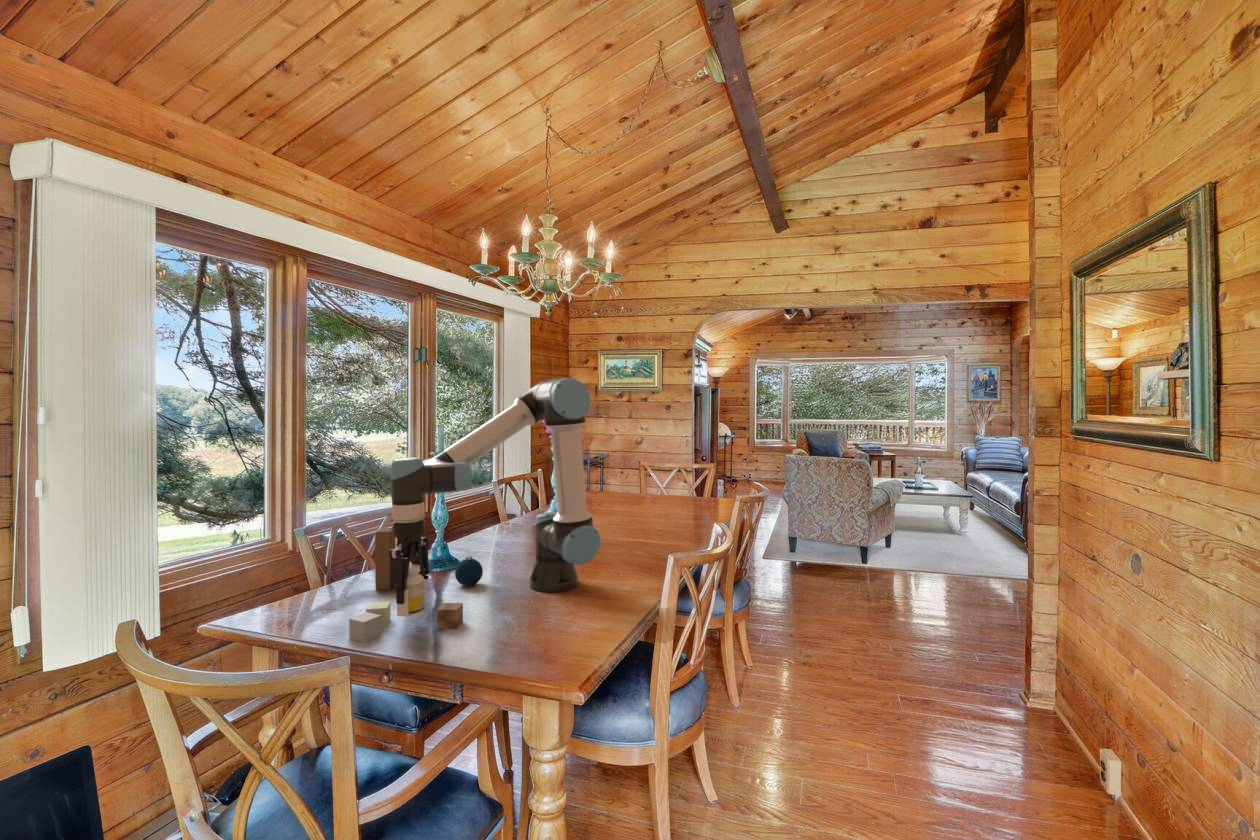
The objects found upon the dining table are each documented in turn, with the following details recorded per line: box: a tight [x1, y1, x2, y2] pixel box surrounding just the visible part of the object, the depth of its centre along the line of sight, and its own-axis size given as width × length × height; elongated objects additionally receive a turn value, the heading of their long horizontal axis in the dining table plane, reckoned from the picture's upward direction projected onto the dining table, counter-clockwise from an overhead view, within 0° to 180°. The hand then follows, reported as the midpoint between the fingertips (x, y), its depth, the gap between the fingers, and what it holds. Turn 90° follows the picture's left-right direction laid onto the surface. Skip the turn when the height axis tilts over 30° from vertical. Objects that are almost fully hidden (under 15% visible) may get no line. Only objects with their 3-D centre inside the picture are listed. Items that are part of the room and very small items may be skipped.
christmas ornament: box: [454, 554, 484, 587], centre depth 179 cm, size 8×8×10 cm
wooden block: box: [374, 528, 396, 591], centre depth 176 cm, size 9×4×18 cm, turn 92°
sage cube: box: [365, 600, 392, 628], centre depth 147 cm, size 5×5×5 cm
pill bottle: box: [406, 564, 426, 617], centre depth 143 cm, size 6×6×12 cm
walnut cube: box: [436, 602, 464, 630], centre depth 146 cm, size 5×5×5 cm
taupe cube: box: [348, 611, 382, 643], centre depth 139 cm, size 5×5×5 cm
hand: (411, 610), depth 143 cm, fingers closed on pill bottle, 6 cm apart
